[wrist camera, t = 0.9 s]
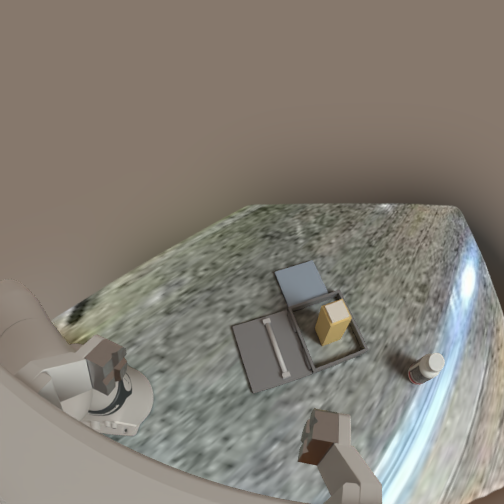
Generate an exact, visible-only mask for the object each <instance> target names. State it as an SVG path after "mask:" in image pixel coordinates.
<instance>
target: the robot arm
mask: <svg viewBox="0 0 504 504" xmlns="http://www.w3.org/2000/svg"><path fill="white" fill-rule="evenodd" d="M125 355H126V348H124V347H122V346H120V345H118V344H116V343H114V342H112V341H110V340H108V339H106V338H103V337H101V336H99V335H94V336H93V337H92V338H91V339H90V340H89V341H87V342H86V343H85V344H84V345H82V344H76V343H75V344H70V345H69V344H68V343H67V342H66V340H65V339H64V338H63V337H62V335H61V334H60V333H59V331H58V330H57V328H56V327H55V326H54V325H53V324H52V322H51V320H50V319H49V317H48V315H47V314H46V312H45V311H44V309H43V307H42V305H41V304H40V302H39V300H38V299H37V298H36V297H35V296H34V295H33V294H32V293H31V291H30V290H28V289H27V288H26V287H25V286H24V285H23V284H22V283H21V282H19V281H17V280H12V279H5V280H1V281H0V504H309V503H302V502H296V501H290V500H285V499H280V498H275V497H270V496H265V495H261V494H256V493H252V492H248V491H244V490H240V489H237V488H233V487H230V486H226V485H223V484H219V483H216V482H213V481H210V480H207V479H204V478H201V477H198V476H195V475H192V474H189V473H187V472H184V471H181V470H179V469H176V468H173V467H171V466H168V465H166V464H163V463H161V462H159V461H156V460H154V459H152V458H149V457H147V456H145V455H143V454H141V453H138V452H136V451H134V450H132V449H130V448H128V447H126V446H124V445H122V444H120V443H118V442H116V441H114V440H112V439H110V438H108V437H106V436H105V435H103V434H112V435H123V436H134V435H135V434H136V433H137V431H138V428H139V425H140V424H141V423H142V422H143V421H144V420H145V419H146V417H147V416H148V415H149V413H150V411H151V408H152V405H153V390H152V387H151V384H150V382H149V381H148V379H147V378H146V377H145V376H144V375H143V374H142V373H141V372H140V371H138V370H136V369H134V368H131V367H130V366H128V365H127V361H126V359H125V358H124V357H125ZM125 429H127V432H126V431H125ZM101 433H103V434H101ZM301 441H302V443H303V444H302V446H301V447H300V449H299V456H298V462H302V463H307V464H312V465H317V467H318V470H319V472H320V474H321V476H322V478H323V480H324V482H325V484H326V486H327V488H328V490H329V493H330V495H331V497H330V498H329V499H328V500H327V501H326V502H325V503H324V504H382V484H381V483H380V482H379V480H378V479H377V478H376V476H375V475H374V473H373V472H372V471H371V469H370V468H369V466H368V465H367V464H366V462H365V461H364V460H363V458H362V457H361V455H360V454H359V453H358V451H357V450H356V448H355V447H354V446H351V417H350V415H348V414H342V413H337V412H331V411H326V410H321V409H316V408H314V409H313V411H312V412H311V416H310V419H309V420H307V422H306V424H305V426H304V429H303V432H302V437H301Z"/></svg>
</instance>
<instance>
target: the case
mask: <svg viewBox="0 0 504 504" xmlns="http://www.w3.org/2000/svg"><path fill="white" fill-rule="evenodd" d="M334 297H338V299H339V300H340V299H343V301H344V303H345V305H346V307H347V309H348V311H349V313H350V315H351V317H352V319H351V321H350V325H351V327H352V329H353V331H354V333H355V335H356V338H357V340H358V342H359V344H360V346H361V348H362V350H361V351H358V352H356V353H354V354H351V355H349V356H346V357H344V358H341V359H339V360H336V361H334V362H331V363H329V364H326V365H323V366H321V367H318V368H315V366H314V364H313V361H312V359H311V356H310V354H309V351H308V349H307V346H306V344H305V341H304V339H303V336H302V334H301V331H300V329H299V326H298V324H297V321H296V319H295V316H294V314H293V311H296V310H299V309H302V308H305V307H308V306H311V305H314V304H317V303H320V302H323V301H326V300H329V299H331V298H334ZM232 327H233V330H234V334H235V337H236V340H237V343H238V347H239V350H240V353H241V356H242V360H243V363H244V366H245V369H246V372H247V375H248V378H249V382H250V385H251V388H252V391H253V394H254V393H258V392H261V391H264V390H267V389H271V388H274V387H277V386H280V385H283V384H286V383H289V382H292V381H295V380H298V379H300V378H303V377H306V376H309V375H312V374H314V373H317V372H320V371H322V370H325V369H327V368H330V367H333V366H335V365H338V364H340V363H343V362H345V361H348V360H350V359H352V358H355V357H357V356H359V355H362V354H364V353H366V352H367V351H368V348H367V346H366V343H365V341H364V339H363V337H362V335H361V333H360V330H359V328H358V326H357V324H356V322H355V320H354V318H353V316H352V314H351V312H350V310H349V307H348V305H347V303H346V301H345V299H344V297H343V295H342V293H341V291H340V290H337V291H334V292H332V293H329V294H326V295H323V296H320V297H317V298H314V299H311V300H308V301H305V302H302V303H299V304H296V305H293V306H290V307H288V310H284V311H281V312H278V313H275V314H272V315H269V316H265V317H262V318H259V319H256V320H252V321H249V322H246V323H243V324H239V325H236V326H232Z"/></svg>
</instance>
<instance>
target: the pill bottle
mask: <svg viewBox="0 0 504 504" xmlns="http://www.w3.org/2000/svg"><path fill="white" fill-rule="evenodd" d="M444 364H445V361H444V358H443V356H442V355H441V354H439V353H433V354H427V355H425V356H423V357H422V358H421V359H419V360H418V361H416V362H415V363H414V364H412V365H411V366H410V368H409V370H408V377H409V379H410V381H411V382H412V383H413V384H416V385H420V384H423V383H424V382H426V381H428V380H430V379H432V378H434V377H436V376H437V375H438V374H439V372H440V370H441V369H442V368H443V367H444Z"/></svg>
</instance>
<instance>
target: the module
mask: <svg viewBox="0 0 504 504" xmlns="http://www.w3.org/2000/svg"><path fill="white" fill-rule="evenodd" d="M351 319H352V317H351V315H350V313H349V311H348V309H347V307H346V305H345V303H344V301H343V299H340V300H337V301H334V302H332V303H329V304H326V305H323V306H322V307H321V310H320V313H319V316H318V320H317V323H316V326H315V331H316V333H317V335H318V338H319V340H320V342H321V345H322V346H324V345H327V344H329V343H332V342H334V341H337V340H340V339H341V337H342V335H343V334H344V332H345V330H346V328H347V327H348V325H349V323H350V321H351Z"/></svg>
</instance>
